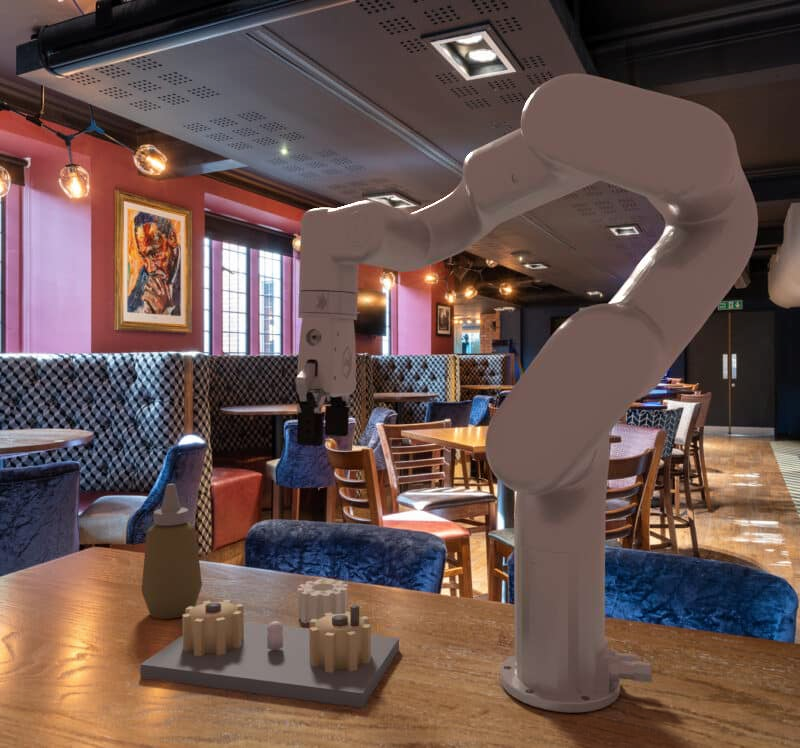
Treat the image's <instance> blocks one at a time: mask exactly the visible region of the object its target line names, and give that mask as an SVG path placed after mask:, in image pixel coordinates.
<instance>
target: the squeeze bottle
mask: <svg viewBox="0 0 800 748" xmlns="http://www.w3.org/2000/svg"><path fill="white" fill-rule="evenodd" d="M163 494H164V495H163V500H162V503H161V508H160V509H156V510H154V511H153V524H154V525H152V526H150V527H149V528H148V529H147V530H146V536H145V549H144V559H143V569H142V570H143V571H142V578H141V579H142V580H141V594H142V597H143V599H144V602H145V605H146V607H147V610H148V612H149V615H150V616H151V617H152V618H154V619H158V620H159V619H161V620H170V619H177V618H182V615H183V614H185V609H186V608H187V607H189V606H192V607H196V606H197V601H198V599H199V595H200V592H201V589H202V586H203V581H202V575H201V574H202V573H201V566H200V565H201V564H200V557H199V555H200V554H199V547H198V539H197V531H196V530H197V528H196V527H195V525H194V524H192V523H190V522H189V521H190V520H189V514H190V513H189V512H190V511H189V509H188V508H187V507H183V506H182V507H181V502H180V500H179V495H178V494H179V493H178V490H177V486H176V484H175V483H167V484H166V485H165V490H164V493H163Z"/></svg>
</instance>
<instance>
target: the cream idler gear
mask: <svg viewBox="0 0 800 748" xmlns="http://www.w3.org/2000/svg"><path fill="white" fill-rule="evenodd" d="M348 591H349V585H348V583H345V582H344V581H342V580H338V581H337V580H335V579H331V578H328V579H327V580H326V579H323V578H320V579H316V580H315V581H312V580H309V581H305V583H304V584H303V583H301V584H300V585H298V588H297V619H298V620H299V621H300V622H301V623H302V624H306V625H307V624H310V621H311V620H312V619H320V618H322V617H324V614H326V613H330V612H331V613H332V614H345V613H346V612H349V592H348Z"/></svg>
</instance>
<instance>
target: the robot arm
mask: <svg viewBox="0 0 800 748" xmlns="http://www.w3.org/2000/svg"><path fill="white" fill-rule="evenodd" d="M462 165H463V166H462V179H461V181H460V183H459V184H458V186H456V188H455V189H454V190H453V191H452V192H451V193H449V194H448V195H447V196H445V197H444V198H442V199H440V200H438V201H436V202H434V203H432V204H429V205H428V206H426V207H424V208H421V209H419V210H417V211H414V212H411V213H410V212H408V211H405V210H402V209H400V208H397V207H395V206H392V205H389V204H386V203H385V202H381V201H378V200H372V199H371V200H367V199H366V200H361V201H356V202H354V203H351V204H347V205H344V206H340V207H337V208H334V207H319V208H318V207H317V208H312V209H308V210H307V211H305V213H304V214H303V215H302V217H301V222H300V241H299V244H300V245H299V246H300V247H299V250H300V251H299V277H298V278H299V279H298V281H299V282H298V287H299V288H298V291H299V292H298V311H297V313H298V314H297V315H298V317H297V318H299V319H301V325H300V334H299V342H298V343H299V345H298V355H297V357H298V359H297V376H296V377H295V387H296V392H297V393H296V395H295V397H296V400H297V405H296V411H297V432H296V433H297V434H296V435H297V436H296V439H297V440H296V442H297V444H298V445H299V446H309V447H310V446H311V447H313V446H314V447H321V446H322V445H323V444H324V434H325V435H326V436H335V437H346V436H348V435H349V421H350V420H349V419H350V404H351V403H350V402H351V400H350V396H349V395H352V394H353V393H354V392H355V390H356V388H357V355H356V354H357V349H356V331H355V322H354V321H358V298H359V297H358V294H359V292H358V291H359V268H360V265H359V264H363V265H368V266H370V267H371V266H372V267H377V268H382V269H388V270H391V271H395V272H400V273H406V272H407V273H408V272H413V271H419V270H421V269H425V268H428V267H430V266H432V265H434V264H437V263H439V262H442V261H445V260H447V259H449V258H452V257H454V256H456V255H458V254H461V253H462V252H464V251H466V250H468V249H469V248H471V247H473V245H475V244H477V242H479V241H480V240H482V239H483V238H484V237H486V236H487V235H488V234H490V232H491V231H492V230H494V229H495V228H496V227H497V226H498V225H500V224H503V223H504V222H506V221H508V220H511V219H513V218H515V217H518V216H521V215H522V214H525V213H526V212H529V211H531V210H533V209H536V208H538V207H541V206H543V205H545V204H548V203H550V202H552V201H556V200H557V199H560V198H562V197H565V196H567V195H569V194H572V193H574V192H576V191H578V190H579V191H580V190H581V189H583V188H586V187H587V186H590V185H593V184H595V183H597V182H599V181H600V182H603V183H606V184H610V185H612V186H616V187H618V188H620V189H621V188H622V189H624V190H626V191H630V192H633V193H636V194H637V195H640V196H643V197H645V198H646V199H647V200H648V201H649V203H650V204H651V205H652V207H654V208H655V209H656V210H657V211H658V212H659V214H660V215H661V216H662V217H663V220H664V223H665V224H664V229H663V232H662V234H661V235H660V238H659V239H658V241H657V242H656V243H655V244H654V245H653V246H652V248H650V250H648V252H647V253H645V255H644V256H643V257H642V258H641V260H640V261H639V263H638V264H637V265H636V266H635V268H634V270H633V271H632V272H631V274H630V276H628V278H627V280H626V281H624V283H623V285H622V286H621V287H620V288H619V290H618V291H617V292H616V294H614V296H613V297H612V298H611V299H610V301H608V303H599V304H598V303H597V304H593V305H589V306H588V307H584V308H582V309H580V310H578V311H577V312H575V313H573V314H572V315H570V316H569V317H568V318H567V319H566V320H564V322H563V323H562V324H561V325H559V327H558V328H557V329H556V330H555V331H554V332H553V333H552V335H551V336H550V337H549V338H548V339H547V341H546V342H545V344H544V345H543V346H542V348H541V349H540V351H538V353H537V354H536V356H535V357H534V358H533V360H532V361H531V363H530V364H529V365H528V367H527V368H526V370H525V371H524V373H522V375H521V376H520V378H519V379H518V380H517V382H516V383H515V385H514V386H513V387H512V388H511V390H510V391H509V393H508V394H507V396H506V397H505V398H504V399H503V401H502V402H501V403H500V405H499V406H498V408H497V410H496V411H495V413H494V415H493V416H492V418H491V420H490V422H489V425H488V427H487V430H486V435H485V442H484V447H485V449H484V450H485V455H486V460H487V464H488V465H489V467H490V469H491V471H492V473H493V475H494V476H495V478H497V480H498V481H499V482H500V483H501V484H502V485H504V486H505V487H507V489H510V490H512V491H514V492H516V496H515V505H514V524H513V525H514V527H513V528H514V531H513V533H514V541H513V542H514V544H513V545H514V549H513V550H514V551H513V553H514V555H513V559H514V560H513V561H514V564H513V565H514V571H513V573H514V575H513V580H514V581H513V582H514V586H513V587H514V589H513V590H514V592H513V593H514V594H513V595H514V596H513V597H514V598H513V599H514V602H513V603H514V605H513V607H514V608H513V609H514V611H513V612H514V613H513V614H514V615H513V616H514V623H513V624H514V627H513V628H514V629H513V630H514V643H513V644H514V654H513V655H511V656H509V657H508V658H506V659H505V660H504V661H503V662H502V664H501V666H500V667H499V669H500V670H499V678H500V683H501V686H502V688H503V689H504V690H505V691H506V692H507V693H508V694H509V695H511V697H513V698H515V700H516V699H517V701H520V702H522V703H524V704H526V705H529V706H531V707H534V708H538V709H541V710H546V711H551V712H556V713H557V712H558V713H569V714H571V713H575V714H576V713H586V712H593V711H597V710H601V709H604V708H606V707H608V706H610V705H611V704H613V703H614V702H615V701H616V700H617V699H618V697H620V693H621V679H622V680H630V681H633V682H638V683H647V684H651V683H652V681H653V680H652V678H653V677H652V676H653V675H652V672H653V671H652V663H651V662H645V661H638V656H637V654H635V653H627V652H625V653H622V652H621V653H620V652H614V651H615V649H610V648H609V644H608V637H607V636H606V614H605V613H606V565H605V564H606V512H607V511H606V507H607V506H606V504H607V489H608V477H609V476H608V475H609V468H610V467H609V466H610V451H611V445H610V432H611V431H612V430H613V428H615V426H616V425H617V424H618V423H619V421H620V420H621V419H622V417H624V415H625V414H626V413H627V411H628V410H629V409H630V408H631V406H633V404H635V402H636V401H638V400H640V399H641V398H643V397H646V396H648V395H649V394H651V392H652V391H654V390H656V388H657V387H658V386H659V384H660V383H661V381H662V380H663V379H664V377H665V376H666V374H667V372H668V371H669V370H670V368H671V367H672V365H673V364H674V363H675V362H676V360H677V358H678V357H680V355H681V354H682V353H683V351H684V350H685V349H686V347H687V346H688V344H690V342H691V341H692V340H693V339H694V337H695V336H696V335H697V334H698V333H699V331H700V330H701V328H702V327H703V326H704V324H705V323H706V322H707V321H708V319H709V318H710V316H711V315H712V314H713V312H714V311H715V310H716V308H717V307H718V306H719V304H720V303H721V302H722V301H723V300H724V298H725V297H726V295H727V294H728V293H729V292H730V290H731V289H732V287H733V286H734V285H735V284H736V282H737V281H738V279H739V278H740V277H741V274H742V273H743V272H744V270H745V268H746V266H747V265H748V262H749V261H750V258H751V256H752V253H753V251H754V248H755V244H756V240H757V236H758V226H759V224H758V223H759V219H758V218H759V216H758V208H757V203H756V200H755V196H754V194H753V192H752V189H751V187H750V184H749V181H748V180H747V176H746V174H745V173H744V171H743V168H742V165H741V160H740V156H739V153H738V146H737V143H736V139H735V136H734V133H733V132H732V129H731V128H730V126H729V124H728V123H727V122H726V121H725V120H724V119H723V117H721V115H720V114H718V113H716V112H715V111H714V110H711V109H710V108H708V107H706V106H704V105H702V104H699V103H696V102H694V101H691V100H687V99H684V98H680V97H676V96H674V95H673V96H672V95H669V94H664V93H660V92H657V91H653V90H649V89H645V88H640V87H638V86H633V85H630V84H627V83H624V82H619V81H615V80H613V79H608V78H604V77H600V76H595V75H592V74H586V73H568V74H562V75H558V76H556V77H552V78H551V79H549V80H547V81H545V82H544V83H542V84H541V85H539V86H538V87H537V88H536V89H535V90H534V91H533V92H532V93H531V95H530V96H529V98H528V99H527V100H526V102H525V104H524V107H523V109H522V112H521V118H520V128H518V129H516V130H514V131H512V132H509V133H507V134H505V135H503V136H502V137H501V136H500V137H499V138H497V139H495V140H492V141H491V142H489V143H487V144H485V145H482V146H480V147H478V148H476V149H474V150H472V151H471V152H470V153H469V154H467V156H466V157H465V159H464V162H463V164H462ZM315 399H316V400H315ZM325 400H327V401H326V402H327V404H328V405H325V412H322V411H323V407H324V404H325Z"/></svg>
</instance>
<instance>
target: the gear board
mask: <svg viewBox="0 0 800 748" xmlns="http://www.w3.org/2000/svg"><path fill="white" fill-rule="evenodd" d="M201 603H202V604H201ZM201 603H200V604H198V605H195V607H192V606H189V607H187V608H186V609H185V614H183V615H182V617H181V618H182V619H181V620H182V635H181V636H180V637H179V636H178V638H176V639H175V640H173V641H172V642H171V643H169V644H168V645H166V646H165V647H164V648H162V649H161V650H159V651H158V652H156V653H155V654H153V655H151V656H150V657H149V658H147V659H146V660H145V661H143V662H142V663H140V665H139V666H140V667H139V668H140V675H139V676H140V679H147V680H154V681H161V682H168V683H176V684H184V685H192V686H198V687H206V688H212V689H213V688H214V689H220V690H227V691H235V692H243V693H249V694H250V693H251V694H256V695H265V696H272V697H280V698H286V699H293V700H294V699H295V700H302V701H309V702H315V701H316V702H317V703H321V704H322V703H324V704H330V705H331V704H332V705H337V704H338V705H339V706H344V705H347V706H346V707H353V708H359V707H360V708H361V709H364V707H365V705H366V704H367V702H368V700H369V699H370V697H371V695H372V694H373V693H374V692H375V689H376V688H377V686H378V685H379V683H380V682H381V680H382V678H383V677H384V676H385V674H386V672H387V670H388V669H389V667H390V665H391V664H392V662H393V661H394V659H395V657H396V656H397V654H399V653H398V652H399V651H400V637H395V636H394V637H392V636H391V637H390V636H382V635H373V634H372V631H371V628H372V627H371V624H370V617H368V616H366V615H363V616H360V606H359V605H356V604H355V605H351V606H349V607H350V611H348V612H346V613H345V614H332V613H331V612H330V613H326V614H324V617H322V618H320V619H312V620H311V621H310V623H309V628H308V627H306V628H305V627H297V626H288V625H282V623H281V622H280V621H276V620H274V621H271V622H270V623H260V622H259V623H258V622H251V621H244V605H243V604H242V603H238V604H234V603H232V600H230V599H224V600H223V601H214V602H213V601H211V600H205V601H202V602H201ZM338 705H337V706H338Z"/></svg>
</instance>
